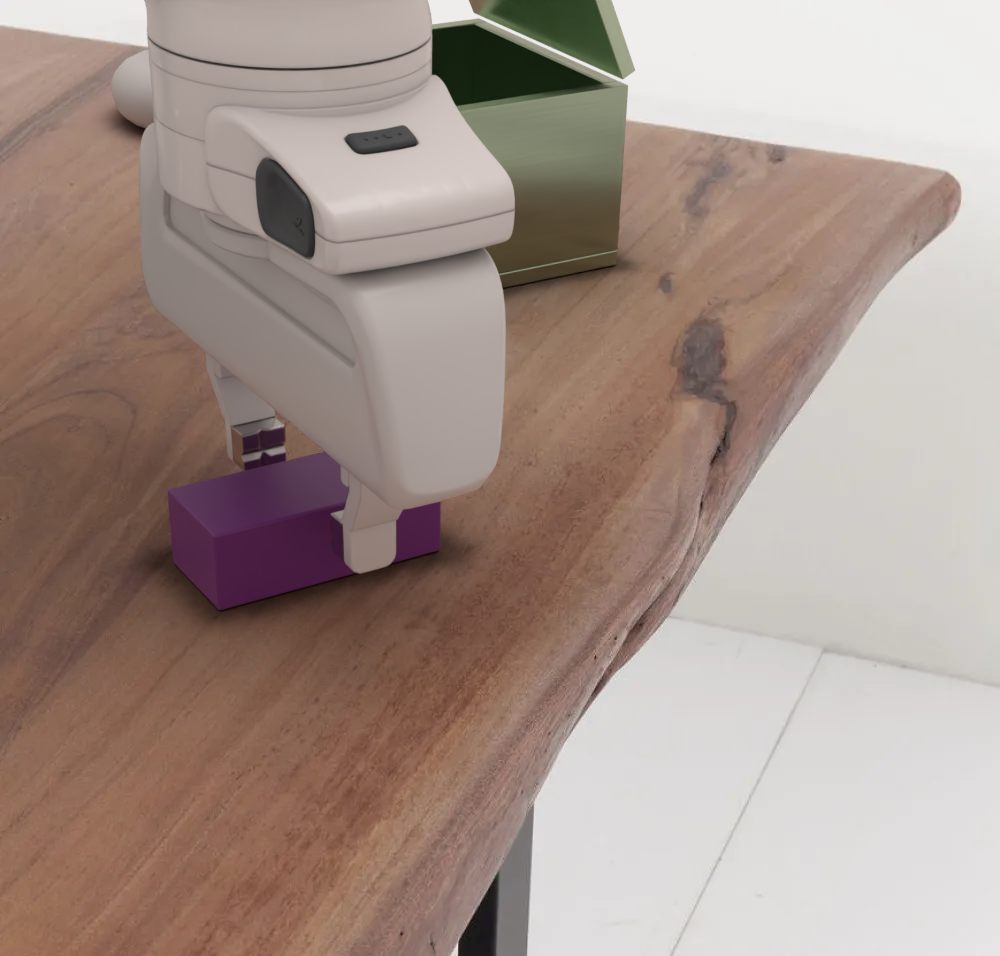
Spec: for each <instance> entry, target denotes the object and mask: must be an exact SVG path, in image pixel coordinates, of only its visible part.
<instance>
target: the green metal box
mask: <svg viewBox="0 0 1000 956" xmlns="http://www.w3.org/2000/svg"><path fill="white" fill-rule="evenodd" d="M432 75H436V76H438V77H439V78H440V79H441V80H442V81H443V82H444V84H445V85H446V87H447V89H448V91H449V93H450V95H451V98H452V100H453V102H454V103H455V105H456V107H457V108H458V110H459V112H460V113H461V115H462V116H463V118H464V119H465V121H466V122H467V124H468V125H469V126H470V128H471V129H472V130H473V132H474V133H475V134H476V136H477V137H478V138H479V139H480V141H481V142H482V143H483V144H484V146H485V147H486V148H487V149H488V150H489V152H490V153H491V154H492V155H493V156H494V157H495V159H496V160H497V161H498V162H499V163H500V165H501V166H502V167H503V168H504V170H505V171H506V172H507V174H508V176H509V177H510V179H511V182H512V185H513V189H514V196H515V216H514V226H513V231H512V235H511V237H510V238H509V239H508V240H507V241H505V242H502V243H499V244H495V245H491V246H488V247H484V248H485V249H486V251H487V252H488V253H489V255H490V256H491V258H492V260H493V261H494V263H495V266H496V268H497V271H498V273H499V276H500V280H501V284H502V289H505V288H510V287H514V286H519V285H524V284H529V283H534V282H538V281H543V280H548V279H549V280H550V279H553V278H557V277H562V276H567V275H573V274H577V273H581V272H587V271H592V270H596V269H603V268H606V267H611V266H616V265H617V260H618V259H617V258H618V248H619V233H620V217H621V205H622V190H623V189H622V188H623V172H624V158H625V140H626V125H627V112H628V111H627V110H628V95H629V85H628V84H626V83H624V82H622V81H620V80H617V79H615V78H612V77H610V76H608V75H606V74H604V73H601V72H599V71H597V70H595V69H593V68H590V67H588V66H586V65H584V64H581V63H579V62H577V61H575V60H573V59H570V58H569V57H566V56H563V55H562V54H559V53H557V52H555V51H552V50H550V49H548V48H546V47H544V46H542V45H539V44H537V43H535V42H533V41H530V40H528V39H526V38H523V37H521V36H520V35H517V34H515V33H512V32H511V31H508V30H506V29H503V28H501V27H499V26H497V25H495V24H492V23H490V22H488V21H486V20H483V18H482V19H481V18H479V17H478V18H472V19H463V20H457V21H456V20H455V21H448V22H440V23H432Z"/></svg>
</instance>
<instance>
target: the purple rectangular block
mask: <svg viewBox="0 0 1000 956" xmlns="http://www.w3.org/2000/svg"><path fill="white" fill-rule="evenodd" d="M166 491H167V501H168V502H167V503H168V515H169V525H170V539H171V550H172V552H171V553H172V562H173V564H175V565H176V567H177V568H178V569H179V570H180V571H181V572H182V573H183V574H184V575H185V576H186V577H187V579H188V580H190V581H191V582H192V583H193V585H194V586H195V587H196V588H197V589H198V590H199V591H200V592H201V593H202V594H203V596H205V597H206V598H207V599H208V600H209V602H210V603H211V604H212V605H213V606H214V607H215V608H216V609H217V610H218V611H224V610H227V609H231V608H234V607H237V606H241V605H246V604H249V603H253V602H256V601H260V600H264V599H268V598H270V597H274V596H275V597H276V596H278V595H282V594H285V593H288V592H293V591H296V590H300V589H304V588H307V587H311V586H315V585H318V584H323V583H325V582H329V581H333V580H337V579H340V578H344V577H347V576H350V575H355V574H357V573H356V572H353V571H352V570H351V569H350V568H349V567H348V566H347V565H346V564H345V563H344V562H343V561H342V560H341V559H340V558H339V557H338V556H337V555H336V554H335V553H334V552H333V550H332V548H331V541H332V539H333V536H332V532H331V518H330V513H334V512H338V511H341V510H344V508H345V505H346V501H347V498H348V494H349V487H348V488H347V487H346V486H345V485H344V484H343V483H342V481H341V468H340V464H339V463H337V462H336V461H335V460H334V459H333V458H331V457H330V456H329V455H328V454H327V453H325V452H324V451H322V452H317V453H313V454H309V455H305V456H301V457H296V458H292V459H287V460H286V461H284V462H279V463H275V464H271V465H267V466H263V467H259V468H254V469H250V470H246V471H244V470H242V471H238V472H234V473H230V474H224V475H221V476H218V477H213V478H209V479H205V480H201V481H196V482H193V483H192V482H191V483H187V484H184V485H179V486H176V487H172V488H168V489H167V490H166ZM441 502H442V501H440V502H436V503H432V504H428V505H424V506H419V507H415V508H411V509H403V510H402V512H401V514H400V516H399V518H398V520H396V556H395V558H394V560H393V561H392V563H391V564H395V563H398V562H401V561H406V560H410V559H413V558H416V557H420V556H424V555H427V554H431V553H436V552H439V551H440V550H441V513H442V512H441V508H442V507H441V505H442V504H441Z"/></svg>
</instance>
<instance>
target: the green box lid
mask: <svg viewBox="0 0 1000 956" xmlns="http://www.w3.org/2000/svg"><path fill="white" fill-rule="evenodd" d="M468 3H469V5H470V7H471V9H472V12H473V14H475V15H477V16H479V17H482V18H484V19H486V20H488V21H491V22H493V23H495V24H497V25H500V26H502V27H504V28H506V29H509V30H511V31H513V32H516V33H517V34H520V35H522V36H524V37H527V38H529V39H531V40H533V41H536V42H538V43H540V44H542V45H545V46H547V47H549V48H551V49H554V50H556V51H558V52H560V53H563V54H565V55H567V56H569V57H571V58H573V59H575V60H578V61H580V62H582V63H584V64H587V65H589V66H592V67H594V68H596V69H599V70H600V71H603V72H604V73H607V74H609V75H612V76H614V77H616V78H618V79H621V80H624V79H626V78H627V77H628V76H630V75H631V74H633V73H634V72H636V68H635V65H634V62H633V60H632V59H633V58H632V56H631V54H630V50H629V47H628V45H627V44H628V43H627V42H626V39H625V35H624V32H623V30H622V26H621V23H620V20H619V17H618V14H617V12H616V9H615V6H614V3H613V0H468Z"/></svg>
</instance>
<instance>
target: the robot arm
mask: <svg viewBox="0 0 1000 956" xmlns="http://www.w3.org/2000/svg"><path fill="white" fill-rule="evenodd" d="M143 1H144V4H145V9H146V39H147V40H146V41H147V50H148V53H149V64H150V77H151V89H152V102H153V115H154V123H152V124H150V125H149V126H148V127H147V128H144V131H143V133H142V136H141V140H140V144H139V145H140V146H139V154H138V216H139V217H138V218H139V219H138V220H139V245H140V263H141V273H142V277H143V281H144V284H145V288H146V292H147V294H148V298H149V300H150V303H151V305H152V307H153V308H154V310H155V311H156V312H157V313H158V314H159V315H161V316H162V317H163V318H165V320H167V321H168V322H169V323H170V324H172V326H174V327H175V328H176V329H177V330H179V331H180V332H181V333H182V334H184V336H185V337H187V338H188V339H189V340H191V341H192V342H194V344H196V345H197V346H198V347H199V348H200V349H202V351H204V357H205V358H204V359H205V370H206V372H207V375H208V378H209V380H210V385H211V387H212V390H213V392H214V396H215V398H216V401H217V404H218V407H219V410H220V413H221V417H222V418H223V420H224V428H225V442H226V443H225V444H226V452H227V453H226V455H227V457H228V459H229V460H230V461H232V462H233V463H234V464H235V465H237V466H238V467H239V468H240V469H241V470H242V471H246V470H250V469H254V468H259V467H263V466H267V465H271V464H275V463H279V462H284V461H287V450H286V446H285V444H286V442H287V439H286V437H287V435H286V425H285V424H284V423H283V422H282V421H281V420H280V419H279V418H278V417H277V414H276V412H277V413H278V414H279V415H280V416H281V417H282V418H283V419H285V420H286V421H287V422H288V423H290V424H291V425H292V426H293V427H294V428H296V429H297V430H298V431H299V432H300V433H301V434H303V435H304V436H305V437H306V438H307V439H308V440H310V441H311V442H312V443H314V445H316V446H317V447H318V448H319V449H321V450H322V452H325V453H327V454H328V455H329V456H330V457H331V458H333V459H334V460H335V461H336V462H337V463H339V464H340V468H341V481H342V483H343V484H344V485H345V486H346V487H347V488H348V487H349V494H348V498H347V501H346V505H345V508H344V510H341V511H338V512H334V513H330V518H331V532H332V536H333V539H332V541H331V548H332V550H333V552H334V553H335V554H336V555H337V556H338V557H339V558H340V559H341V560H342V561H343V562H344V563H345V564H346V565H347V566H348V567H349V568H350V569H351V570H352V571H353V572H356V573H355V574H358V575H362V574H364V573H368V572H369V573H370V572H372V571H376V570H380V569H383V568H386V567H388V566H390V565H391V564H393V563H392V561H393V560H394V558H395V556H396V520H398V518H399V516H400V514H401V512H402V510H403V509H411V508H415V507H419V506H424V505H428V504H432V503H436V502H440V501H441V502H443V501H447V500H450V499H454V498H458V497H461V496H464V495H467V494H471V493H473V492H476V491H477V490H479V489H480V488H481V487H482V486H483V485H484V484H485V482H486V481H487V480H488V478H489V477H490V475H491V474H492V472H493V471H494V470H495V467H496V466H497V464H498V461H499V455H500V451H501V446H502V445H501V444H502V436H503V435H502V433H503V423H504V407H505V406H504V405H505V389H506V387H505V386H506V362H507V361H506V359H507V358H506V357H507V355H506V354H507V319H506V318H507V317H506V315H507V314H506V302H505V296H504V288H502V284H501V280H500V276H499V273H498V271H497V268H496V266H495V263H494V261H493V260H492V258H491V256H490V255H489V253H488V252H487V251H486V249H485V248H484V247H488V246H491V245H495V244H499V243H502V242H505V241H507V240H508V239H509V238H510V237H511V235H512V231H513V226H514V216H515V196H514V189H513V185H512V182H511V179H510V177H509V176H508V174H507V172H506V171H505V170H504V168H503V167H502V166H501V165H500V163H499V162H498V161H497V160H496V159H495V157H494V156H493V155H492V154H491V153H490V152H489V150H488V149H487V148H486V147H485V146H484V144H483V143H482V142H481V141H480V139H479V138H478V137H477V136H476V134H475V133H474V132H473V130H472V129H471V128H470V126H469V125H468V124H467V122H466V121H465V119H464V118H463V116H462V115H461V113H460V112H459V110H458V108H457V107H456V105H455V103H454V102H453V100H452V98H451V95H450V93H449V91H448V89H447V87H446V85H445V84H444V82H443V81H442V80H441V79H440V78H439V77H438V76H436V75H432V24H433V19H432V12H431V8H430V4H429V0H143Z"/></svg>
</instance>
